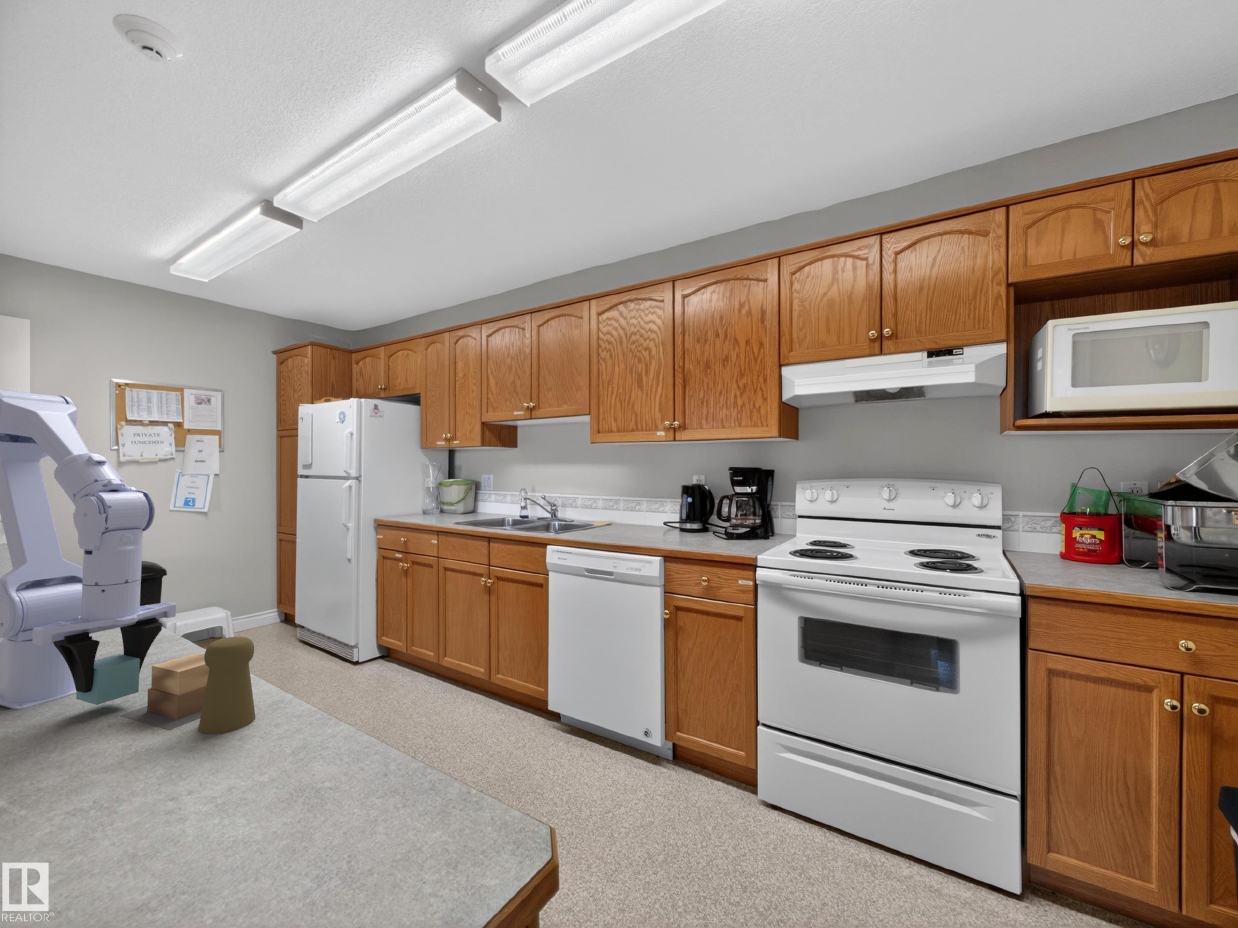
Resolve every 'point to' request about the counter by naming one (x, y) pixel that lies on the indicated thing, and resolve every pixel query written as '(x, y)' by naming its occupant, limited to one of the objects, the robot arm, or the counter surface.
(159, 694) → the walnut base block
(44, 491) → the robot arm
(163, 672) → the oak top block
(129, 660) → the teal block
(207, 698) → the cork
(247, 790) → the counter surface
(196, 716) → the coaster mat
